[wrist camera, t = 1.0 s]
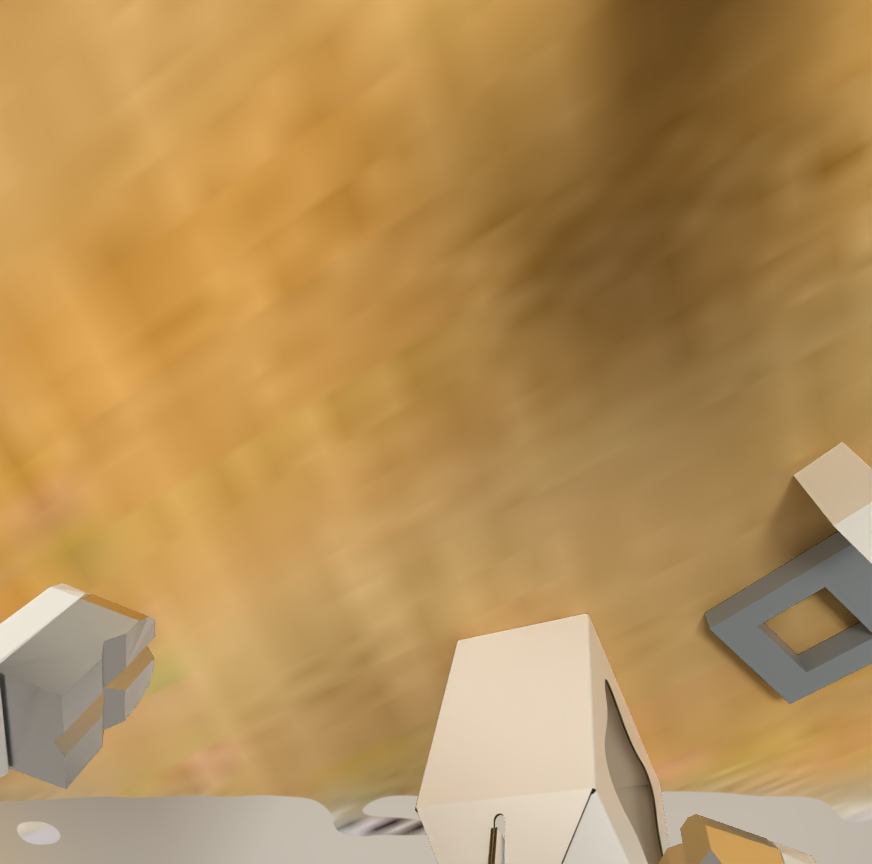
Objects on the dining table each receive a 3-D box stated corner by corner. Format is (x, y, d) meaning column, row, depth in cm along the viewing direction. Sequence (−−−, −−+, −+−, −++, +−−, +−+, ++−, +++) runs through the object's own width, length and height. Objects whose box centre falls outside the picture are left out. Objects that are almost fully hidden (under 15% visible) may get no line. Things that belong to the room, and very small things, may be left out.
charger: (842, 441, 43) (894, 489, 36) (878, 477, 43) (936, 531, 36) (793, 475, 44) (834, 526, 37) (827, 509, 45) (874, 566, 38)
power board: (964, 454, 41) (984, 467, 39) (1052, 546, 42) (1076, 563, 40) (704, 613, 50) (710, 630, 48) (782, 686, 51) (790, 705, 49)
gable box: (660, 785, 59) (729, 1235, 33) (536, 798, 63) (513, 1204, 38) (587, 609, 53) (602, 993, 27) (455, 637, 57) (363, 990, 32)
